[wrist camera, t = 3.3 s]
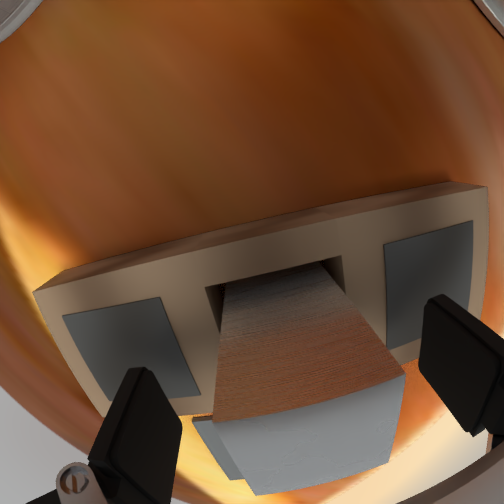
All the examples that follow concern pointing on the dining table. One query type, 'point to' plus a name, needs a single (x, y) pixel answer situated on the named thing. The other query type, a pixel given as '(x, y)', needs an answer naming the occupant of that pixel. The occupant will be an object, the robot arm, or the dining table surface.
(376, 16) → the dining table surface
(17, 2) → the glass holder
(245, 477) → the grey rectangular block
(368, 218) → the rail
